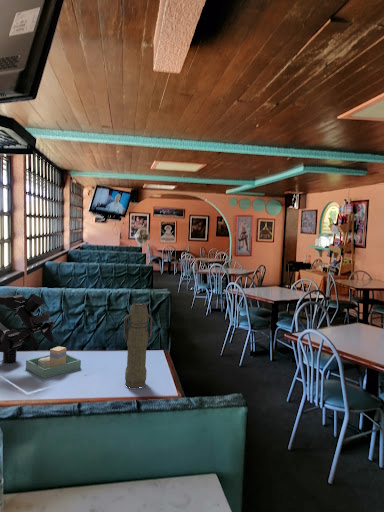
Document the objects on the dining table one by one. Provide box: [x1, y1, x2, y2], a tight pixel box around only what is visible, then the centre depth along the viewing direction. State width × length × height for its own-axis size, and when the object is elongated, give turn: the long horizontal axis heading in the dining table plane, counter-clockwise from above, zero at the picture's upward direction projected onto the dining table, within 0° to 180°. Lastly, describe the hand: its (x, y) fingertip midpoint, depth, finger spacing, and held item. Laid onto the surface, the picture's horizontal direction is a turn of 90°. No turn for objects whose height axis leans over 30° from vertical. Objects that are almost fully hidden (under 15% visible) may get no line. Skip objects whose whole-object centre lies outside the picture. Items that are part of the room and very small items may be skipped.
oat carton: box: [49, 345, 67, 368], centre depth 163 cm, size 4×6×10 cm
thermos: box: [123, 302, 153, 389], centre depth 153 cm, size 9×12×35 cm
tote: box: [25, 353, 82, 379], centre depth 166 cm, size 16×18×4 cm
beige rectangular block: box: [38, 357, 50, 369], centre depth 168 cm, size 6×8×3 cm
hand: (46, 345), depth 165 cm, fingers open, 9 cm apart
